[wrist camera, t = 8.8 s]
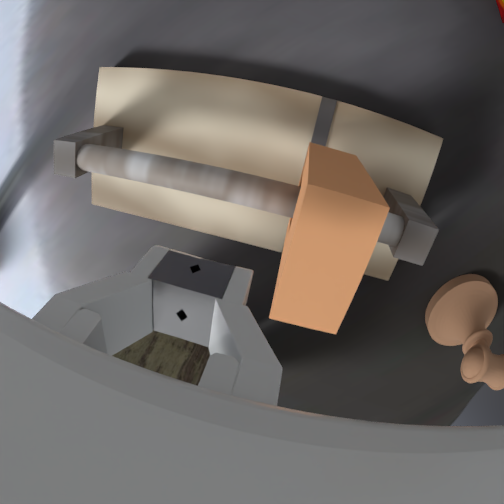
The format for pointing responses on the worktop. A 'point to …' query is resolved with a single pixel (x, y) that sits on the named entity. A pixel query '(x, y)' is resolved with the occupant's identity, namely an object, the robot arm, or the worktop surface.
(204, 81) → the rod stand
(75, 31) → the worktop surface
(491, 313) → the door knob
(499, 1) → the baking soda box
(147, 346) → the tabletop clock
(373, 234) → the orange rectangular block
